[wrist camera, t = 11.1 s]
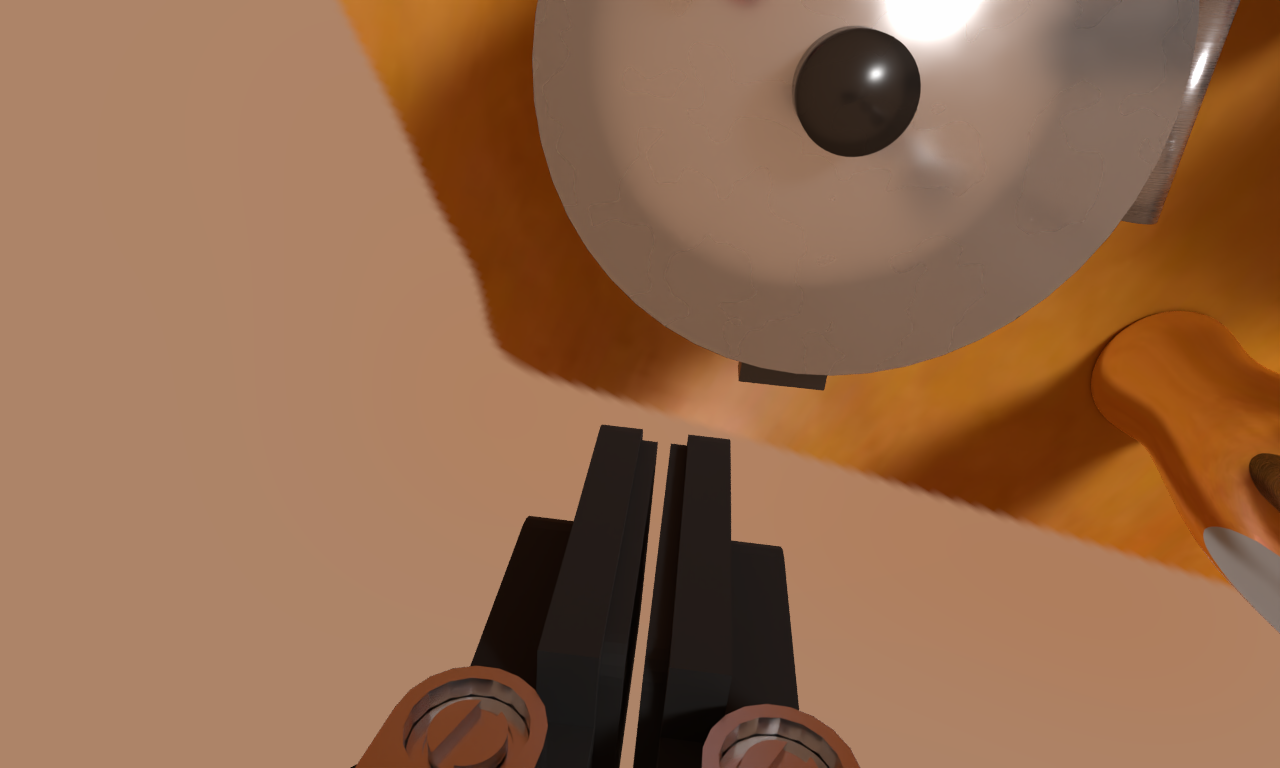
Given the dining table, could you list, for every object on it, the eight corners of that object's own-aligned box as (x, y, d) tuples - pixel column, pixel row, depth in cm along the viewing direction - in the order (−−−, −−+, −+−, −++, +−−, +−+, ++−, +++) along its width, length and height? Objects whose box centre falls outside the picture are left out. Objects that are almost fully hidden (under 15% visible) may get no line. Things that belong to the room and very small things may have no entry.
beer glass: (1156, 464, 39) (1384, 721, 25) (1045, 389, 38) (1225, 618, 24) (1282, 354, 36) (1616, 581, 22) (1167, 269, 35) (1449, 456, 21)
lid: (1318, -265, 19) (1445, -316, 16) (1083, 376, 27) (1135, 434, 24) (556, -321, 20) (523, -380, 17) (541, 318, 28) (516, 366, 24)
